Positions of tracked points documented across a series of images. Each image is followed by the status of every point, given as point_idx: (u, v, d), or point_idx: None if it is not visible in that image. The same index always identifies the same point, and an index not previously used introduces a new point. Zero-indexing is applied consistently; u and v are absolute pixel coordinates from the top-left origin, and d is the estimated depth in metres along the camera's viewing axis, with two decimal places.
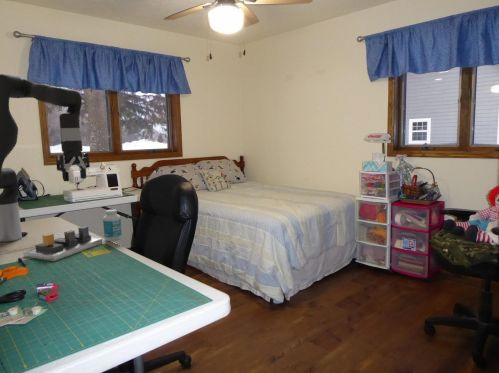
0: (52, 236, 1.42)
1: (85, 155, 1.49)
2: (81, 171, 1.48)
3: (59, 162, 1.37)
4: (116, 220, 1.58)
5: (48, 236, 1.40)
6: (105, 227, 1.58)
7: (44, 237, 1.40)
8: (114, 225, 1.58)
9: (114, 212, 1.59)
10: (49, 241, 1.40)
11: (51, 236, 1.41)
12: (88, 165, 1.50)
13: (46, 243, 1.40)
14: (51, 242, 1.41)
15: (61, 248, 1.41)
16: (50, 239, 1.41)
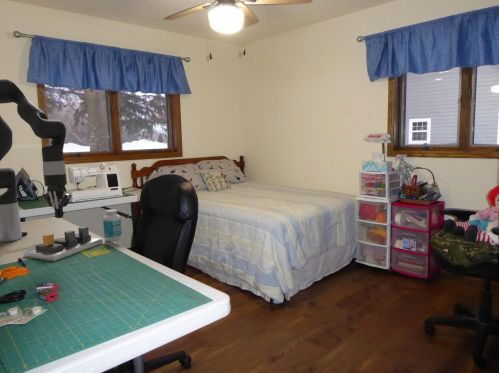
0: (52, 236, 1.42)
1: None
2: None
3: (67, 201, 1.35)
4: (116, 220, 1.58)
5: (48, 236, 1.40)
6: (105, 227, 1.58)
7: (44, 237, 1.40)
8: (114, 225, 1.58)
9: (114, 212, 1.59)
10: (49, 241, 1.40)
11: (51, 236, 1.41)
12: None
13: (46, 243, 1.40)
14: (51, 242, 1.41)
15: (61, 248, 1.41)
16: (50, 239, 1.41)
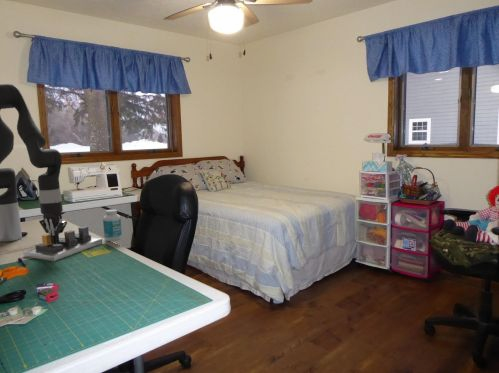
0: None
1: None
2: None
3: (63, 228, 1.38)
4: (116, 220, 1.58)
5: (47, 236, 1.40)
6: (105, 227, 1.58)
7: (43, 237, 1.40)
8: (114, 225, 1.58)
9: (114, 212, 1.59)
10: (48, 241, 1.40)
11: None
12: None
13: (45, 243, 1.40)
14: (50, 242, 1.41)
15: (61, 248, 1.41)
16: (49, 239, 1.41)
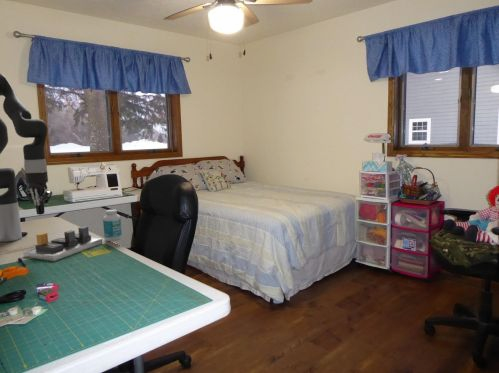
0: (46, 235, 1.43)
1: None
2: None
3: (48, 198, 1.39)
4: (116, 220, 1.58)
5: (42, 235, 1.41)
6: (105, 227, 1.58)
7: (38, 236, 1.41)
8: (114, 225, 1.58)
9: (114, 212, 1.59)
10: (42, 240, 1.42)
11: (45, 235, 1.42)
12: None
13: (40, 242, 1.41)
14: (45, 241, 1.43)
15: (61, 248, 1.41)
16: (44, 238, 1.42)
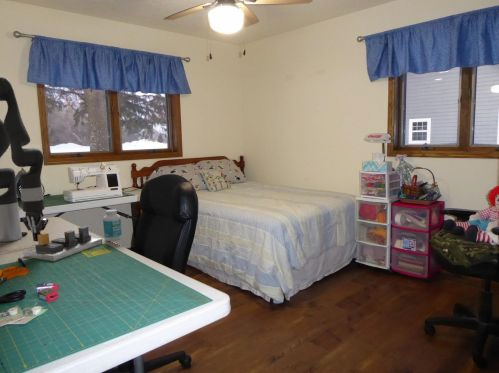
0: (47, 235, 1.43)
1: None
2: None
3: (44, 225, 1.41)
4: (116, 220, 1.58)
5: (43, 235, 1.41)
6: (105, 227, 1.58)
7: (39, 236, 1.41)
8: (114, 225, 1.58)
9: (114, 212, 1.59)
10: (44, 240, 1.41)
11: (46, 235, 1.42)
12: None
13: (41, 242, 1.41)
14: (46, 241, 1.42)
15: (61, 248, 1.41)
16: (45, 239, 1.42)
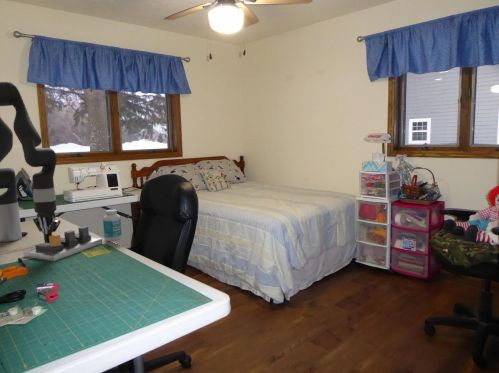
0: (59, 237, 1.40)
1: None
2: None
3: (56, 226, 1.39)
4: (116, 220, 1.58)
5: (55, 237, 1.39)
6: (105, 227, 1.58)
7: (51, 238, 1.38)
8: (114, 225, 1.58)
9: (114, 212, 1.59)
10: (55, 242, 1.39)
11: (58, 237, 1.40)
12: None
13: (53, 244, 1.38)
14: (58, 243, 1.40)
15: (61, 248, 1.41)
16: (57, 240, 1.39)
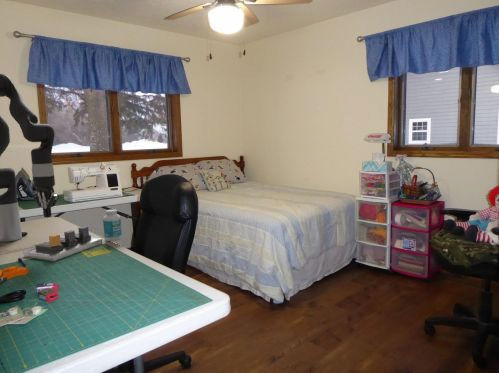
0: (58, 237, 1.40)
1: None
2: None
3: (55, 201, 1.42)
4: (116, 220, 1.58)
5: (54, 237, 1.39)
6: (105, 227, 1.58)
7: (50, 238, 1.38)
8: (114, 225, 1.58)
9: (114, 212, 1.59)
10: (55, 242, 1.39)
11: (57, 237, 1.40)
12: None
13: (52, 244, 1.39)
14: (57, 243, 1.40)
15: (61, 248, 1.41)
16: (56, 240, 1.39)
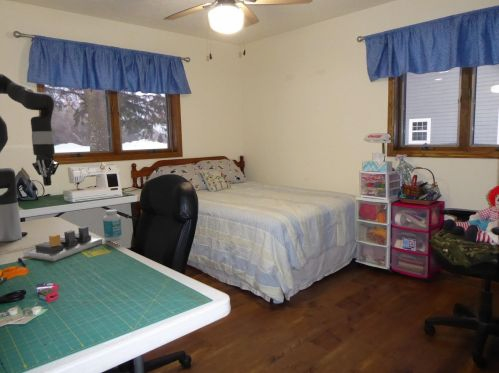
0: (58, 237, 1.40)
1: None
2: None
3: (54, 169, 1.43)
4: (116, 220, 1.58)
5: (54, 237, 1.39)
6: (105, 227, 1.58)
7: (50, 238, 1.38)
8: (114, 225, 1.58)
9: (114, 212, 1.59)
10: (55, 242, 1.39)
11: (57, 237, 1.40)
12: None
13: (52, 244, 1.39)
14: (57, 243, 1.40)
15: (61, 248, 1.41)
16: (56, 240, 1.39)
